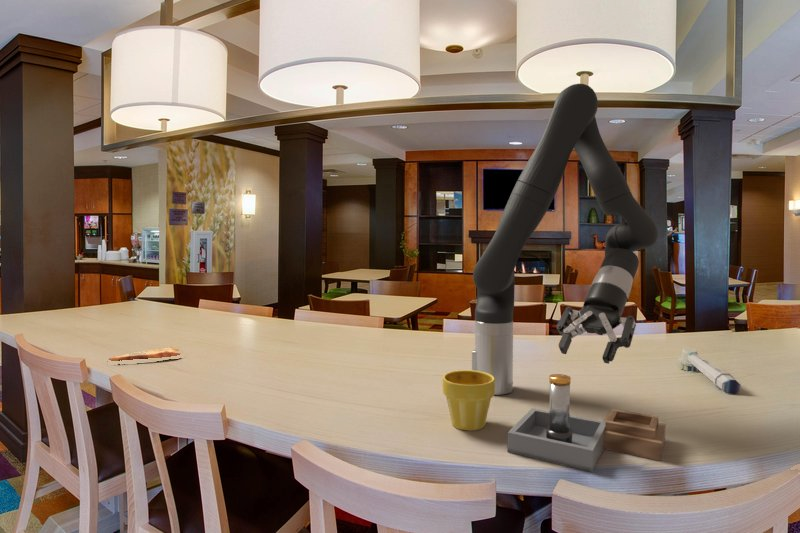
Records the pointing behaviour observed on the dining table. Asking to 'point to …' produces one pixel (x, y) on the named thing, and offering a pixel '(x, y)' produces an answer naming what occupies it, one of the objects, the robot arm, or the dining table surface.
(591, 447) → the tray
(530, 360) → the dining table surface
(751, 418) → the dining table surface
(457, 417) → the plant pot
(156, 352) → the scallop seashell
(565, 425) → the gold-capped glass canister
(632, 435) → the brown square open box
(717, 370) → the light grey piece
